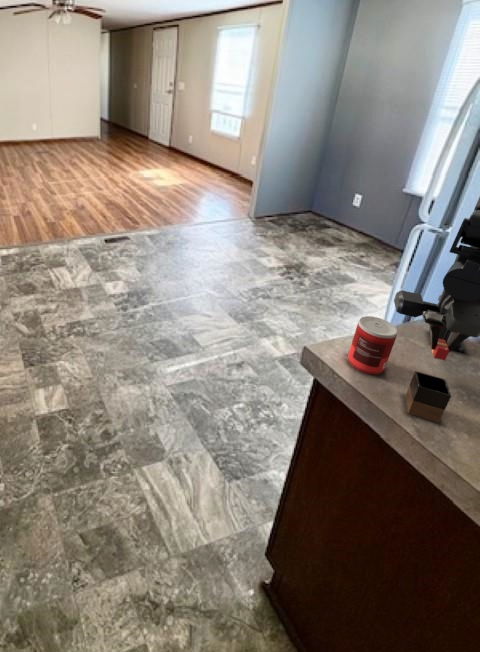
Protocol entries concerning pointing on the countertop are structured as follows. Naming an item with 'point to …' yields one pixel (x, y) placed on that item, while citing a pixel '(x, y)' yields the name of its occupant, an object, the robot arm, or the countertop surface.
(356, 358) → the canned food
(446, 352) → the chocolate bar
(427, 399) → the open brown box
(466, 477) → the countertop surface
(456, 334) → the robot arm
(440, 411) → the dark brown cube
